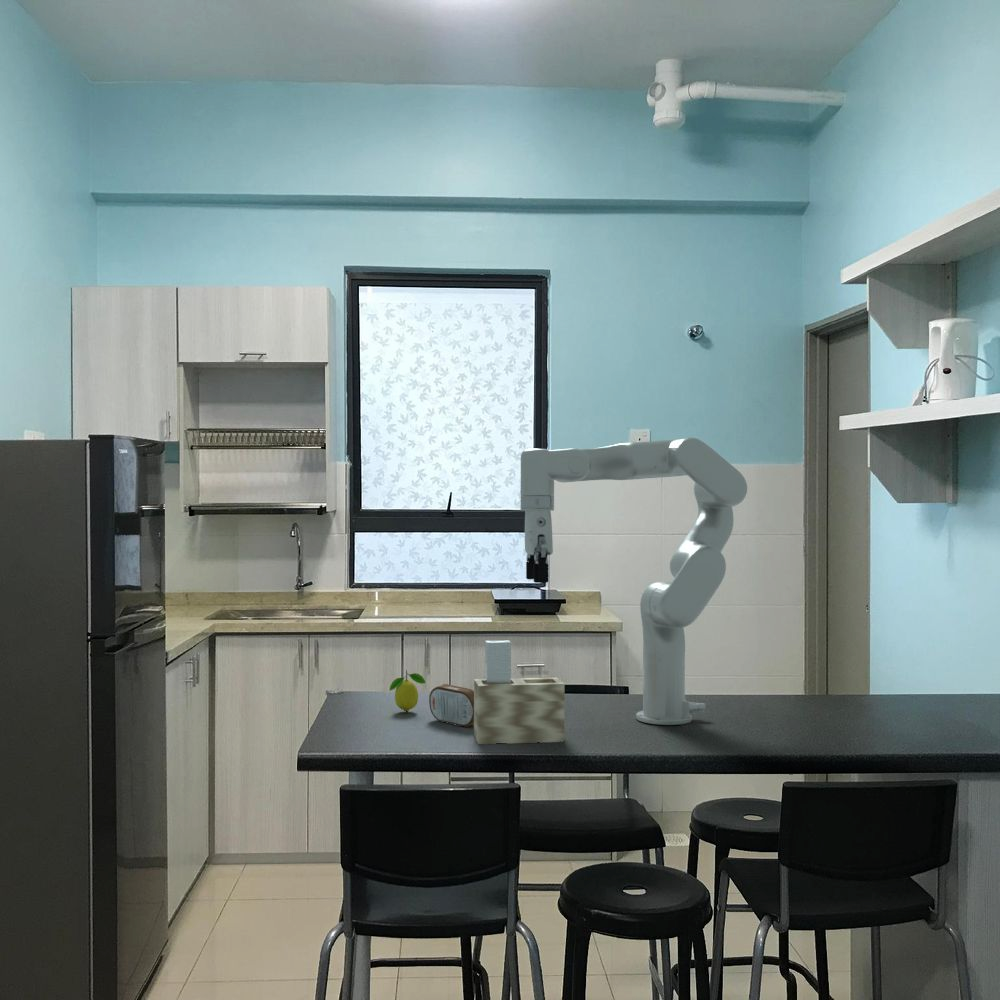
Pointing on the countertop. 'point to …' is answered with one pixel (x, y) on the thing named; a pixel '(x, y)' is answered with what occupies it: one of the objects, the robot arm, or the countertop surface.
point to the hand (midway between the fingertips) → (537, 580)
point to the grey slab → (498, 662)
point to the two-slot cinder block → (519, 711)
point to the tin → (452, 704)
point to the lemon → (406, 691)
